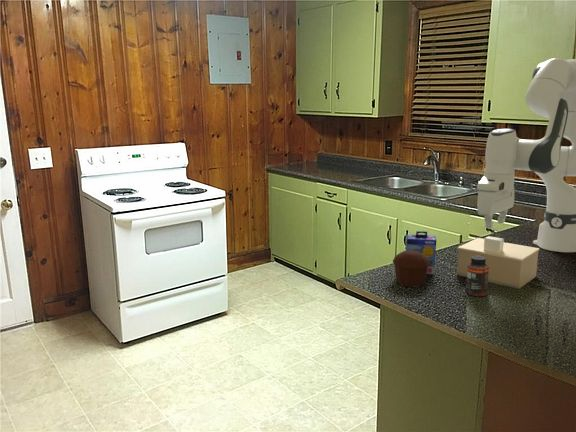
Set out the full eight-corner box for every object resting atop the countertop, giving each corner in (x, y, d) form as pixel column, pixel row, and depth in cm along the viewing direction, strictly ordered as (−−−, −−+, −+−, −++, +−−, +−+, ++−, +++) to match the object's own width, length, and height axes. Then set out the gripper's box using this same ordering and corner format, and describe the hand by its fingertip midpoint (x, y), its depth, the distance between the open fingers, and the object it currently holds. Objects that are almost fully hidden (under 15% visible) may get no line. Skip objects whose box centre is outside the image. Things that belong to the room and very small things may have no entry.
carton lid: (477, 239, 179) (478, 226, 178) (539, 250, 165) (540, 236, 164) (457, 249, 168) (458, 235, 167) (521, 261, 154) (522, 246, 153)
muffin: (432, 278, 167) (433, 249, 165) (426, 290, 157) (428, 258, 155) (395, 274, 172) (396, 245, 169) (388, 285, 162) (389, 254, 160)
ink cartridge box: (405, 273, 172) (406, 231, 169) (404, 268, 178) (405, 227, 175) (435, 274, 171) (437, 232, 167) (434, 269, 176) (436, 228, 173)
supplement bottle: (485, 290, 156) (488, 255, 153) (488, 297, 150) (491, 260, 148) (465, 289, 157) (467, 253, 155) (467, 296, 152) (469, 259, 149)
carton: (476, 264, 181) (478, 239, 179) (536, 276, 167) (538, 250, 165) (457, 274, 170) (458, 249, 168) (518, 288, 157) (521, 261, 155)
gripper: (501, 177, 168) (498, 218, 171) (474, 184, 154) (471, 229, 157) (521, 179, 164) (517, 221, 167) (495, 186, 150) (492, 232, 153)
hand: (495, 225), depth 162 cm, fingers open, 8 cm apart
